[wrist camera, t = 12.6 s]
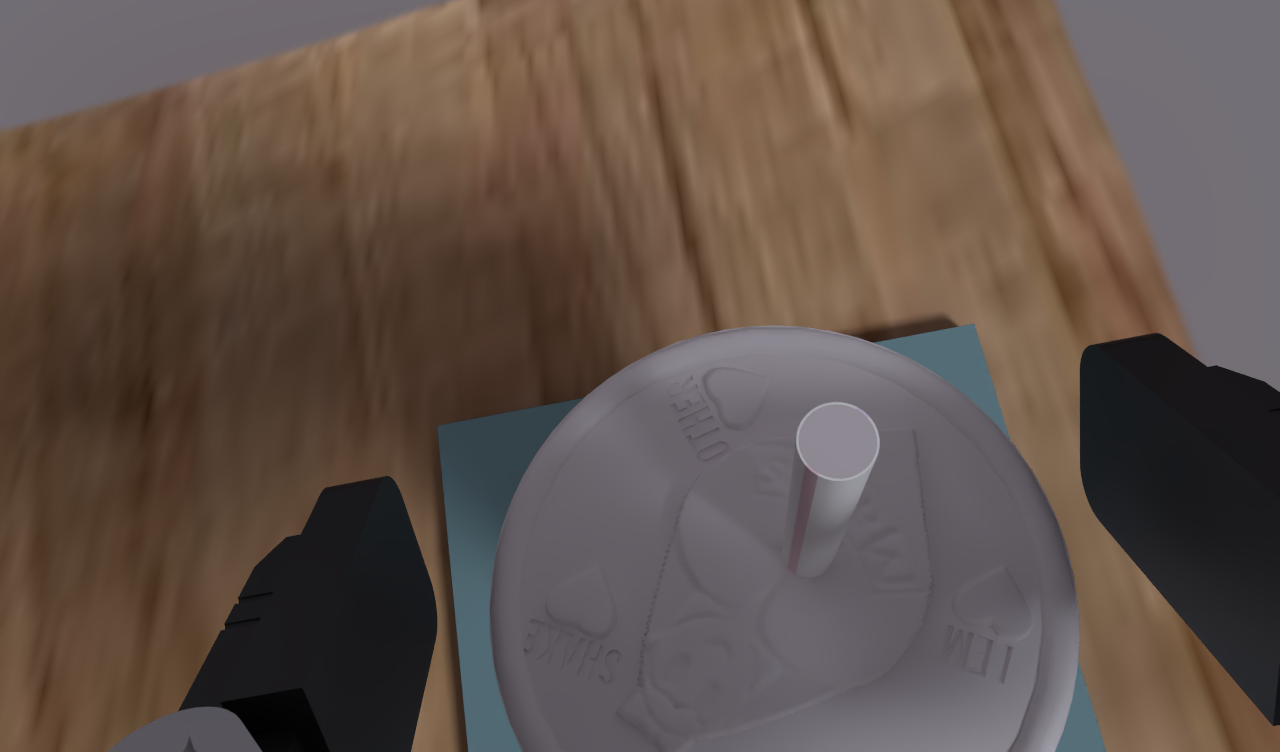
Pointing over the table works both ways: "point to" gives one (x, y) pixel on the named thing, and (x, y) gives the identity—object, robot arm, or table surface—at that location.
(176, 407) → the table surface
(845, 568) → the smoothie
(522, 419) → the coaster
